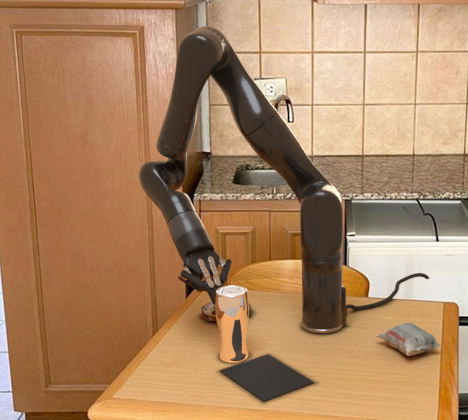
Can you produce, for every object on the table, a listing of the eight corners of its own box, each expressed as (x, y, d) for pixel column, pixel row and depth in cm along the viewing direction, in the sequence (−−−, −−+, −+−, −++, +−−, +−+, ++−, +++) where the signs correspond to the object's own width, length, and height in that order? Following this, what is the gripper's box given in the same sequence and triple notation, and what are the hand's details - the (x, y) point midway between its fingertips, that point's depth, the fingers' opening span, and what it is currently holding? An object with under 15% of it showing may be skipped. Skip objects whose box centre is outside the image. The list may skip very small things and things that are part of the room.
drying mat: (219, 371, 166) (219, 370, 166) (268, 355, 173) (268, 354, 173) (263, 402, 154) (263, 400, 153) (313, 383, 160) (313, 381, 160)
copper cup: (245, 365, 168) (242, 297, 164) (213, 362, 170) (210, 295, 166) (254, 350, 175) (252, 285, 171) (223, 348, 176) (220, 283, 172)
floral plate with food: (254, 305, 200) (253, 276, 198) (248, 324, 188) (247, 294, 186) (205, 305, 200) (204, 276, 198) (197, 324, 189) (195, 294, 187)
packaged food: (407, 364, 168) (408, 342, 166) (375, 343, 178) (376, 322, 176) (441, 355, 172) (442, 334, 170) (408, 335, 182) (408, 315, 180)
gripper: (168, 233, 173) (199, 304, 166) (221, 222, 180) (253, 289, 174) (158, 251, 178) (188, 319, 172) (210, 239, 186) (241, 304, 180)
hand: (221, 304), depth 173 cm, fingers closed
